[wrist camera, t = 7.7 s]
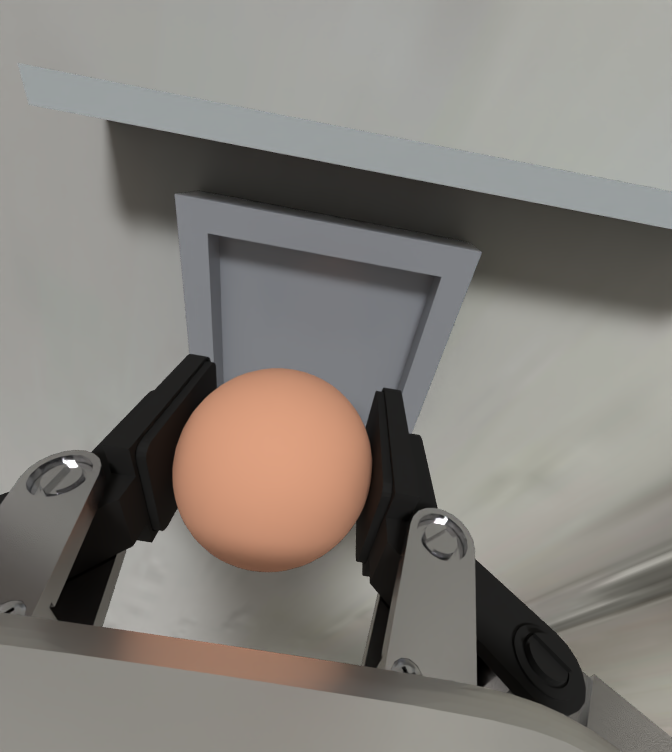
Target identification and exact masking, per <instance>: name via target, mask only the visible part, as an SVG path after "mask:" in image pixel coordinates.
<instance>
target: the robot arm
mask: <svg viewBox="0 0 672 752" xmlns="http://www.w3.org/2000/svg"><path fill="white" fill-rule="evenodd" d="M216 389H217V377H216V364H215V363H214V362H211V360H210V358H209V357H206V356H201V355H195V354H189V355H187V356H186V358H185V359H184V360H183V361H182V362H181V363H180V364H179V365H178V366H177V367H176V368H175V369H174V370H173V371H172V372H171V373H170V374H169V375H168V376H167V378H166V379H165V380H164V381H163V382H162V383H161V384H160V385H159V386H158V387H157V388H156V389H155V390H153V391H151V392H149V393H148V394H147V395H146V396H145V397H144V398H143V399H142V400H141V401H140V402H139V403H138V404H137V405H136V406H135V407H134V408H133V409H132V411H131V412H130V413H129V414H128V415H127V416H126V417H125V418H124V419H123V420H122V421H121V422H120V423H119V424H118V425H117V426H116V427H115V428H114V429H113V430H112V431H111V432H110V433H109V434H108V435H107V436H106V437H105V438H104V440H103V441H102V442H101V443H100V444H99V445H98V446H97V447H96V448H95V449H94V450H93V451H92V452H88V451H83V450H71V451H63V452H60V453H57V454H53V455H50V456H48V457H46V458H44V459H42V460H40V461H38V462H36V463H35V464H34V465H32V466H31V467H29V468H28V469H27V470H26V471H25V472H24V473H23V474H22V475H21V476H20V478H19V479H18V481H17V482H16V483H15V485H14V486H13V488H12V489H11V490H10V492H7V493H5V494H2V495H0V752H672V737H670V736H669V735H668V734H667V733H665V732H664V731H663V730H662V729H661V728H659V727H658V726H657V725H656V724H654V723H653V722H652V721H651V720H650V719H648V718H647V717H646V716H645V715H643V714H642V713H641V712H640V711H639V710H637V709H636V708H635V707H634V706H632V705H631V704H630V703H629V702H628V701H626V700H625V699H624V698H623V697H621V696H620V695H619V694H618V693H617V692H615V691H614V690H613V689H612V688H610V687H609V686H608V685H607V684H606V683H604V682H603V681H602V680H601V679H599V678H598V677H597V676H596V675H595V674H594V675H592V676H590V677H588V676H587V675H586V674H585V673H584V672H582V671H581V668H580V666H579V664H578V661H577V659H576V658H575V656H574V655H573V653H572V652H571V650H570V649H569V647H568V646H567V644H566V643H565V642H564V641H563V640H562V639H561V638H560V637H559V636H558V635H557V633H556V632H554V631H553V630H552V629H551V628H550V627H549V626H548V625H547V624H546V623H545V622H544V621H542V620H541V619H540V618H539V617H538V616H537V615H536V614H535V613H534V612H533V611H532V610H530V609H529V608H528V607H527V606H526V605H525V604H524V603H523V602H522V601H521V600H519V599H518V598H517V597H516V596H515V595H514V594H513V593H512V592H511V591H510V590H509V589H507V588H506V587H505V586H504V585H503V584H502V583H501V582H500V581H499V580H498V579H497V578H495V577H494V576H493V575H492V574H491V573H490V572H489V571H488V570H487V569H486V568H485V567H483V566H482V565H481V564H480V563H479V562H478V561H477V560H476V559H475V547H474V542H473V539H472V537H471V535H470V533H469V531H468V529H467V528H466V527H465V526H464V524H463V523H462V522H461V521H460V520H459V519H457V518H456V517H455V516H454V515H452V514H450V513H448V512H446V511H444V510H441V509H438V508H437V504H436V499H435V495H434V490H433V486H432V481H431V477H430V472H429V468H428V463H427V459H426V455H425V450H424V446H423V441H422V438H421V436H420V435H416V434H410V433H409V430H408V425H407V419H406V414H405V408H404V402H403V397H402V392H401V390H396V389H390V388H383V389H382V391H376V392H375V395H374V399H373V402H372V406H371V409H370V413H369V416H368V420H367V424H366V427H365V429H366V432H367V435H368V438H369V441H370V446H371V454H372V475H371V483H370V488H369V493H368V497H367V500H366V502H365V505H364V507H363V509H362V512H361V514H360V516H359V517H358V519H357V521H356V561H357V562H362V575H363V576H369V577H370V584H371V585H372V586H373V587H374V589H375V590H376V591H377V592H378V594H377V599H376V603H375V607H374V612H373V616H372V620H371V625H370V629H369V633H368V638H367V642H366V647H365V651H364V655H363V660H362V664H361V666H359V665H352V664H346V663H339V662H333V661H326V660H320V659H313V658H307V657H300V656H294V655H287V654H281V653H274V652H268V651H261V650H254V649H247V648H241V647H234V646H227V645H221V644H214V643H207V642H201V641H194V640H187V639H180V638H174V637H167V636H160V635H153V634H146V633H140V632H133V631H126V630H119V629H113V628H106V627H103V624H104V620H105V617H106V614H107V611H108V608H109V605H110V601H111V598H112V595H113V592H114V589H115V585H116V582H117V579H118V576H119V573H120V570H121V566H122V563H123V560H124V557H125V554H126V549H128V548H130V547H132V546H133V545H134V544H135V542H136V540H139V541H146V542H152V541H153V540H154V538H155V536H156V534H157V533H158V531H159V530H160V531H163V530H165V529H166V528H167V526H168V524H169V523H170V521H171V519H172V517H173V515H174V514H175V512H176V510H177V508H178V507H177V504H176V500H175V495H174V490H173V461H174V455H175V450H176V446H177V443H178V441H179V438H180V435H181V433H182V430H183V428H184V426H185V424H186V423H187V421H188V419H189V418H190V416H191V414H192V413H193V411H194V410H195V409H196V408H197V407H198V406H199V404H200V403H201V402H202V401H203V400H204V399H205V398H206V397H207V396H208V395H209V394H210V393H212V392H213V391H214V390H216Z"/></svg>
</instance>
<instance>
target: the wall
mask: <svg viewBox="0 0 672 752" xmlns="http://www.w3.org/2000/svg"><path fill="white" fill-rule="evenodd" d="M18 67H19V70H20V74H21V78H22V81H23V85H24V89H25V92H26V96H27V100H28V103H29V105H33V106H38V107H43V108H48V109H54V110H59V111H64V112H69V113H74V114H79V115H85V116H90V117H95V118H100V119H105V120H110V121H116V122H121V123H126V124H131V125H136V126H141V127H147V128H152V129H157V130H162V131H167V132H172V133H178V134H183V135H188V136H193V137H198V138H203V139H209V140H214V141H219V142H224V143H229V144H234V145H240V146H245V147H250V148H255V149H260V150H265V151H271V152H276V153H281V154H286V155H291V156H296V157H302V158H307V159H312V160H317V161H322V162H327V163H333V164H338V165H343V166H348V167H353V168H358V169H364V170H369V171H374V172H379V173H384V174H389V175H395V176H400V177H405V178H410V179H415V180H420V181H426V182H431V183H436V184H441V185H446V186H451V187H457V188H462V189H467V190H472V191H477V192H482V193H488V194H493V195H498V196H503V197H508V198H513V199H519V200H524V201H529V202H534V203H539V204H544V205H550V206H555V207H560V208H565V209H570V210H575V211H581V212H586V213H591V214H596V215H601V216H606V217H612V218H617V219H622V220H627V221H632V222H637V223H643V224H648V225H653V226H658V227H663V228H668V229H672V191H667V190H662V189H657V188H652V187H647V186H641V185H636V184H631V183H626V182H621V181H616V180H611V179H606V178H601V177H596V176H591V175H585V174H580V173H575V172H570V171H565V170H560V169H555V168H550V167H545V166H540V165H535V164H529V163H524V162H519V161H514V160H509V159H504V158H499V157H494V156H489V155H484V154H479V153H474V152H468V151H463V150H458V149H453V148H448V147H443V146H438V145H433V144H428V143H423V142H418V141H412V140H407V139H402V138H397V137H392V136H387V135H382V134H377V133H372V132H367V131H362V130H356V129H351V128H346V127H341V126H336V125H331V124H326V123H321V122H316V121H311V120H306V119H300V118H295V117H290V116H285V115H280V114H275V113H270V112H265V111H260V110H255V109H250V108H244V107H239V106H234V105H229V104H224V103H219V102H214V101H209V100H204V99H199V98H194V97H188V96H183V95H178V94H173V93H168V92H163V91H158V90H153V89H148V88H143V87H138V86H132V85H127V84H122V83H117V82H112V81H107V80H102V79H97V78H92V77H87V76H82V75H76V74H71V73H66V72H61V71H56V70H51V69H46V68H41V67H36V66H31V65H26V64H20V63H18Z"/></svg>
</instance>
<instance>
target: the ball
mask: <svg viewBox="0 0 672 752" xmlns="http://www.w3.org/2000/svg"><path fill="white" fill-rule="evenodd" d="M371 475H372V454H371V446H370V441H369V438H368V435H367V432H366V429H365V426H364V424H363V422H362V420H361V418H360V416H359V414H358V413H357V411H356V409H355V408H354V407H353V405H352V404H351V403H350V402H349V401H348V399H347V398H346V397H345V396H344V395H343V394H342V393H341V392H340V391H338V390H337V389H336V388H335V387H334V386H332V385H331V384H329V383H328V382H326V381H324V380H322V379H320V378H318V377H316V376H314V375H311V374H308V373H306V372H302V371H298V370H293V369H285V368H270V369H261V370H257V371H253V372H248V373H245V374H243V375H240V376H237V377H235V378H233V379H231V380H229V381H228V382H226V383H224V384H222V385H221V386H219V387H218V388H217V389H216V390H214V391H213V392H212V393H210V394H209V395H208V396H207V397H206V398H205V399H204V400H203V401H202V402H201V403H200V404H199V406H198V407H197V408H196V409H195V410H194V411H193V413H192V414H191V416H190V418H189V419H188V421H187V423H186V424H185V426H184V428H183V430H182V433H181V435H180V438H179V441H178V443H177V446H176V450H175V455H174V461H173V490H174V495H175V500H176V504H177V507H178V510H179V512H180V515H181V517H182V519H183V521H184V523H185V525H186V526H187V528H188V529H189V531H190V532H191V534H192V535H193V537H194V538H195V539H196V540H197V541H198V543H200V544H201V545H202V546H203V547H204V548H205V549H206V550H207V551H208V552H209V553H211V554H212V555H213V556H215V557H217V558H218V559H220V560H222V561H224V562H226V563H228V564H230V565H233V566H235V567H238V568H242V569H245V570H250V571H258V572H279V571H285V570H290V569H293V568H297V567H300V566H303V565H306V564H308V563H310V562H312V561H314V560H316V559H318V558H319V557H321V556H323V555H325V554H326V553H327V552H329V551H330V550H331V549H332V548H334V547H335V546H336V545H337V544H338V543H339V542H340V541H341V540H342V539H343V538H344V537H345V536H346V535H347V533H348V532H349V531H350V530H351V528H352V527H353V525H354V524H355V522H356V521H357V519H358V517H359V516H360V514H361V512H362V509H363V507H364V505H365V502H366V500H367V497H368V493H369V488H370V483H371Z"/></svg>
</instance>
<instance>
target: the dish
mask: <svg viewBox="0 0 672 752" xmlns="http://www.w3.org/2000/svg"><path fill="white" fill-rule="evenodd" d="M175 204H176V215H177V225H178V236H179V247H180V257H181V268H182V279H183V289H184V300H185V311H186V321H187V332H188V343H189V353H190V354H195V355H201V356H206V357H209V358H210V360H211V362H214V363H215V364H216V377H217V388H218V387H219V386H221V385H222V384H224V383H226V382H228V381H229V380H231V379H233V378H235V377H237V376H240V375H243V374H245V373H248V372H253V371H257V370H261V369H270V368H285V369H293V370H298V371H302V372H306V373H308V374H311V375H314V376H316V377H318V378H320V379H322V380H324V381H326V382H328V383H329V384H331V385H332V386H334V387H335V388H336V389H337V390H338V391H340V392H341V393H342V394H343V395H344V396H345V397H346V398H347V399H348V401H349V402H350V403H351V404H352V405H353V407H354V408H355V409H356V411H357V413H358V414H359V416H360V418H361V420H362V422H363V424H364V426H365V427H366V424H367V420H368V416H369V413H370V409H371V406H372V402H373V399H374V395H375V392H376V391H382V389H383V388H390V389H396V390H401V392H402V397H403V402H404V408H405V414H406V419H407V425H408V430H409V433H410V434H412V431H413V429H414V426H415V423H416V421H417V418H418V416H419V413H420V411H421V408H422V405H423V403H424V400H425V398H426V395H427V393H428V390H429V387H430V385H431V382H432V380H433V377H434V375H435V372H436V369H437V367H438V364H439V362H440V359H441V357H442V354H443V351H444V349H445V346H446V344H447V341H448V338H449V336H450V333H451V331H452V328H453V326H454V323H455V320H456V318H457V315H458V313H459V310H460V308H461V305H462V302H463V300H464V297H465V295H466V292H467V290H468V287H469V284H470V282H471V279H472V277H473V274H474V272H475V269H476V266H477V264H478V261H479V259H480V256H481V254H482V252H481V251H480V250H479V249H477V248H476V247H474V246H473V245H471V244H470V243H469V242H467V241H462V240H456V239H451V238H446V237H440V236H435V235H430V234H425V233H419V232H414V231H409V230H404V229H398V228H393V227H388V226H382V225H377V224H372V223H367V222H361V221H356V220H351V219H346V218H340V217H335V216H330V215H324V214H319V213H314V212H309V211H303V210H298V209H293V208H288V207H282V206H277V205H272V204H266V203H261V202H256V201H251V200H245V199H240V198H235V197H229V196H224V195H219V194H214V193H208V192H203V191H193V192H185V193H177V194H175Z"/></svg>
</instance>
